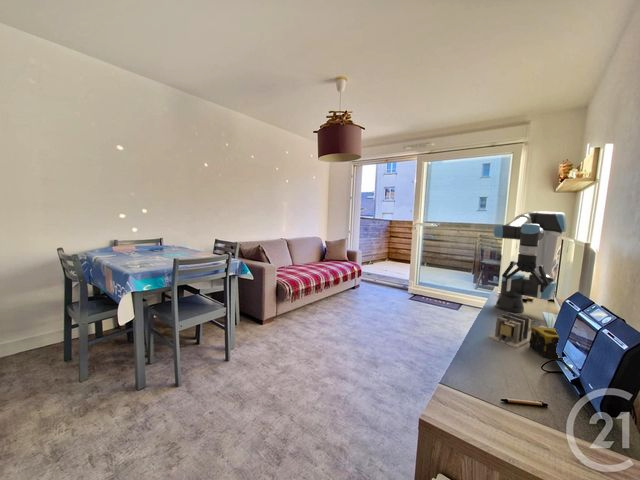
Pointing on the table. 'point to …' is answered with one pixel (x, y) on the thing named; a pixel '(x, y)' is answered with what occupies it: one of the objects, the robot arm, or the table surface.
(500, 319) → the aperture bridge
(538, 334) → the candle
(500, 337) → the long cream board
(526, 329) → the collar
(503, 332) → the long golden plank
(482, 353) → the table surface
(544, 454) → the table surface
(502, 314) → the collar
